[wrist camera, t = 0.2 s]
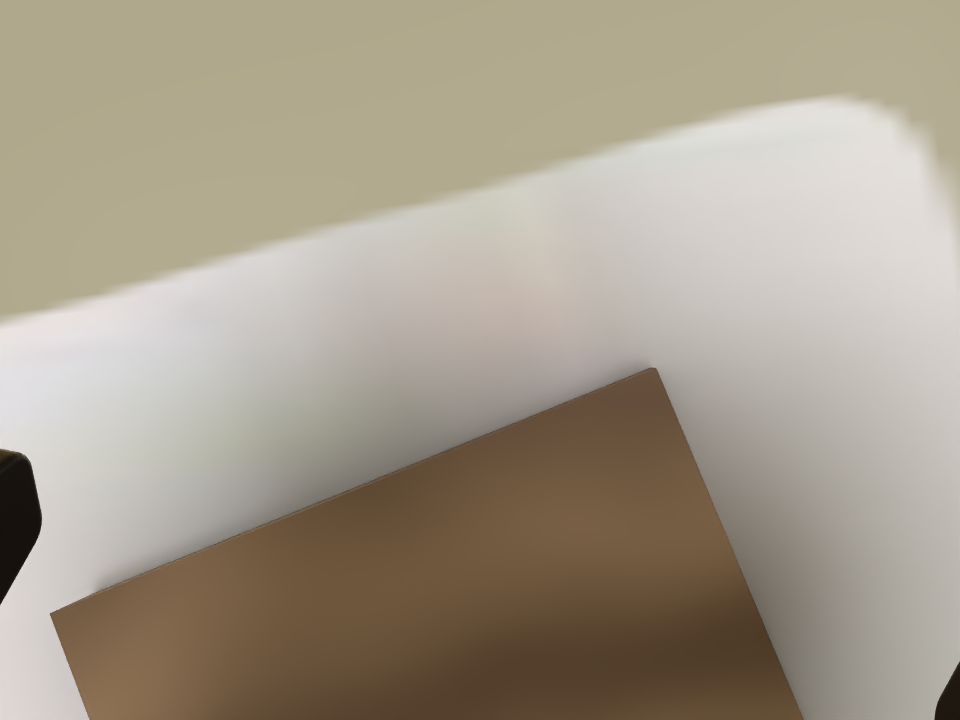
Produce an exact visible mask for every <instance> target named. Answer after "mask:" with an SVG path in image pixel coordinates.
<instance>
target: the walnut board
mask: <svg viewBox="0 0 960 720" xmlns="http://www.w3.org/2000/svg"><path fill="white" fill-rule="evenodd" d="M50 616H51V618H52V621H53V624H54V626H55V629H56V632H57V634H58V637H59V640H60V642H61V645H62V648H63V650H64V653H65V656H66V658H67V661H68V663H69V666H70V669H71V671H72V674H73V677H74V679H75V682H76V685H77V687H78V690H79V693H80V695H81V698H82V701H83V703H84V706H85V709H86V711H87V714H88V717H89V719H90V720H803V717H802V715H801V712H800V710H799V708H798V705H797V703H796V700H795V698H794V696H793V693H792V691H791V689H790V686H789V684H788V681H787V679H786V677H785V674H784V672H783V669H782V667H781V665H780V662H779V660H778V657H777V655H776V653H775V650H774V648H773V646H772V643H771V641H770V638H769V636H768V634H767V631H766V629H765V626H764V624H763V622H762V619H761V617H760V615H759V612H758V610H757V607H756V605H755V603H754V600H753V598H752V595H751V593H750V591H749V588H748V586H747V584H746V581H745V579H744V576H743V574H742V572H741V569H740V567H739V564H738V562H737V560H736V557H735V555H734V553H733V550H732V548H731V545H730V543H729V541H728V538H727V536H726V533H725V531H724V529H723V526H722V524H721V522H720V519H719V517H718V514H717V512H716V510H715V507H714V505H713V502H712V500H711V498H710V495H709V493H708V491H707V488H706V486H705V483H704V481H703V479H702V476H701V474H700V471H699V469H698V467H697V464H696V462H695V460H694V457H693V455H692V452H691V450H690V448H689V445H688V443H687V440H686V438H685V436H684V433H683V431H682V429H681V426H680V424H679V421H678V419H677V417H676V414H675V412H674V409H673V407H672V405H671V402H670V400H669V397H668V395H667V393H666V390H665V388H664V386H663V383H662V381H661V378H660V376H659V374H658V371H657V369H656V368H649V369H647V370H644V371H642V372H639V373H637V374H634V375H632V376H629V377H627V378H624V379H622V380H620V381H617V382H615V383H612V384H610V385H607V386H605V387H602V388H600V389H597V390H595V391H592V392H590V393H587V394H585V395H582V396H580V397H578V398H575V399H573V400H570V401H568V402H565V403H563V404H560V405H558V406H555V407H553V408H550V409H548V410H545V411H543V412H540V413H538V414H536V415H533V416H531V417H528V418H526V419H523V420H521V421H518V422H516V423H513V424H511V425H508V426H506V427H503V428H501V429H498V430H496V431H494V432H491V433H489V434H486V435H484V436H481V437H479V438H476V439H474V440H471V441H469V442H466V443H464V444H461V445H459V446H457V447H454V448H452V449H449V450H447V451H444V452H442V453H439V454H437V455H434V456H432V457H429V458H427V459H424V460H422V461H419V462H417V463H415V464H412V465H410V466H407V467H405V468H402V469H400V470H397V471H395V472H392V473H390V474H387V475H385V476H382V477H380V478H377V479H375V480H373V481H370V482H368V483H365V484H363V485H360V486H358V487H355V488H353V489H350V490H348V491H345V492H343V493H340V494H338V495H335V496H333V497H331V498H328V499H326V500H323V501H321V502H318V503H316V504H313V505H311V506H308V507H306V508H303V509H301V510H298V511H296V512H293V513H291V514H289V515H286V516H284V517H281V518H279V519H276V520H274V521H271V522H269V523H266V524H264V525H261V526H259V527H256V528H254V529H251V530H249V531H247V532H244V533H242V534H239V535H237V536H234V537H232V538H229V539H227V540H224V541H222V542H219V543H217V544H214V545H212V546H209V547H207V548H205V549H202V550H200V551H197V552H195V553H192V554H190V555H187V556H185V557H182V558H180V559H177V560H175V561H172V562H170V563H167V564H165V565H163V566H160V567H158V568H155V569H153V570H150V571H148V572H145V573H143V574H140V575H138V576H135V577H133V578H130V579H128V580H125V581H123V582H121V583H118V584H116V585H113V586H111V587H108V588H106V589H103V590H101V591H98V592H96V593H93V594H91V595H89V596H87V597H85V598H83V599H80V600H78V601H76V602H74V603H72V604H70V605H67V606H65V607H63V608H61V609H59V610H56V611H54V612H52V613H50Z"/></svg>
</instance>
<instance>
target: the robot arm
mask: <svg viewBox="0 0 960 720" xmlns="http://www.w3.org/2000/svg"><path fill="white" fill-rule="evenodd" d="M41 525H42V513H41V508H40V504H39V499H38V494H37V489H36V484H35V479H34V475H33V470H32V466H31V463H30V461H29V459H28V458H27V457H26V456H25V455H23V454H21V453H19V452H15V451H9V450H4V449H0V605H1V603H2V601H3V599H4V598H5V596H6V594H7V592H8V590H9V589H10V587H11V585H12V583H13V582H14V580H15V578H16V576H17V575H18V573H19V571H20V569H21V567H22V566H23V564H24V562H25V560H26V559H27V557H28V555H29V553H30V552H31V550H32V548H33V546H34V545H35V543H36V541H37V538H38V536H39V533H40V530H41ZM935 720H960V662H959V664H958V665H957V667H956V669H955V671H954V673H953V675H952V676H951V678H950V680H949V682H948V684H947V685H946V687H945V689H944V691H943V693H942V695H941V696H940V698H939V701H938V703H937V707H936V711H935Z"/></svg>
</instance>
